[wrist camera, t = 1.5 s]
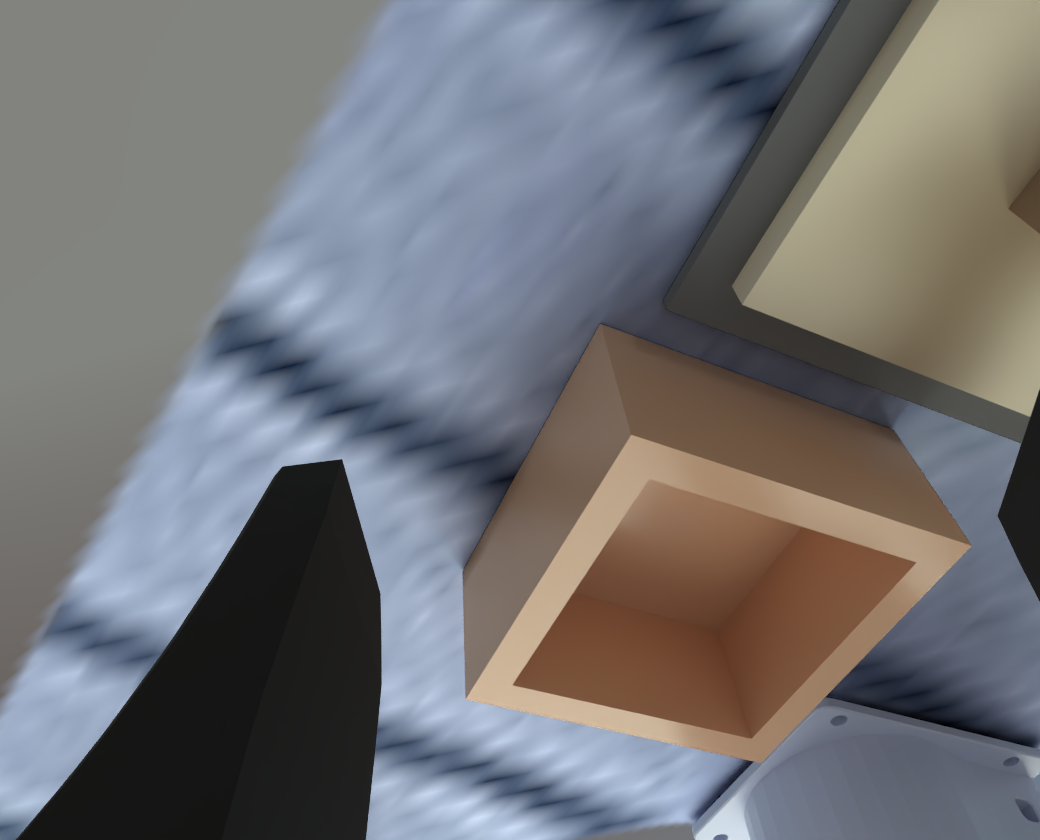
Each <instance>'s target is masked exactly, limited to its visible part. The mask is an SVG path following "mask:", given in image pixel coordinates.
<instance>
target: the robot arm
mask: <svg viewBox="0 0 1040 840" xmlns="http://www.w3.org/2000/svg"><path fill="white" fill-rule="evenodd" d="M998 517H999V519H1000V522H1001V524H1002V526H1003V528H1004V530H1005V532H1006V534H1007V537H1008V539H1009V541H1010V543H1011V545H1012V547H1013V549H1014V552H1015V554H1016V556H1017V558H1018V560H1019V562H1020V564H1021V566H1022V568H1023V570H1024V572H1025V574H1026V576H1027V578H1028V580H1029V582H1030V583H1031V585H1032V587H1033V589H1034V591H1035V593H1036V595H1037V597H1038V599H1039V601H1040V389H1039V392H1038V395H1037V398H1036V401H1035V404H1034V407H1033V411H1032V414H1031V417H1030V420H1029V423H1028V426H1027V429H1026V432H1025V435H1024V438H1023V441H1022V444H1021V447H1020V450H1019V453H1018V456H1017V459H1016V462H1015V465H1014V468H1013V471H1012V474H1011V477H1010V480H1009V483H1008V486H1007V489H1006V492H1005V495H1004V498H1003V501H1002V504H1001V508H1000V511H999V514H998ZM381 684H382V681H381V603H380V591H379V588H378V584H377V580H376V577H375V573H374V570H373V566H372V563H371V559H370V556H369V552H368V549H367V545H366V542H365V538H364V535H363V531H362V528H361V524H360V521H359V517H358V514H357V510H356V507H355V503H354V500H353V496H352V493H351V489H350V486H349V482H348V479H347V475H346V472H345V468H344V465H343V461H342V459H341V460H333V461H325V462H317V463H309V464H301V465H293V466H285V467H282V468H281V469H280V470H279V472H278V473H277V474H276V475H275V476H274V478H273V479H272V481H271V483H270V484H269V486H268V488H267V490H266V491H265V493H264V495H263V496H262V498H261V500H260V501H259V503H258V505H257V506H256V508H255V510H254V511H253V513H252V515H251V516H250V518H249V520H248V521H247V523H246V525H245V526H244V528H243V530H242V531H241V533H240V535H239V536H238V538H237V540H236V541H235V543H234V544H233V546H232V548H231V549H230V551H229V553H228V554H227V556H226V557H225V559H224V561H223V562H222V564H221V565H220V567H219V569H218V570H217V572H216V573H215V575H214V577H213V578H212V580H211V581H210V583H209V584H208V586H207V587H206V589H205V590H204V592H203V593H202V595H201V596H200V598H199V599H198V601H197V602H196V604H195V605H194V607H193V608H192V610H191V611H190V613H189V614H188V616H187V617H186V619H185V620H184V622H183V623H182V625H181V627H180V628H179V630H178V631H177V633H176V634H175V636H174V637H173V639H172V640H171V641H170V643H169V644H168V646H167V647H166V649H165V650H164V652H163V653H162V654H161V656H160V657H159V659H158V660H157V661H156V663H155V664H154V665H153V667H152V668H151V669H150V671H149V672H148V674H147V675H146V676H145V678H144V679H143V680H142V682H141V683H140V684H139V686H138V687H137V689H136V690H135V691H134V693H133V694H132V695H131V697H130V698H129V699H128V701H127V702H126V704H125V705H124V706H123V708H122V709H121V710H120V712H119V713H118V715H117V716H116V717H115V719H114V720H113V721H112V723H111V724H110V725H109V727H108V728H107V729H106V731H105V732H104V733H103V735H102V736H101V737H100V738H99V740H98V741H97V742H96V744H95V745H94V746H93V747H92V749H91V750H90V751H89V752H88V754H87V755H86V756H85V757H84V759H83V760H82V761H81V762H80V764H79V765H78V766H77V768H76V769H75V770H74V771H73V772H72V774H71V775H70V776H69V777H68V779H67V780H66V781H65V782H64V783H63V785H62V786H61V787H60V788H59V790H58V791H57V792H56V793H55V794H54V796H53V797H52V798H51V799H50V800H49V801H48V803H47V804H46V805H45V806H44V807H43V809H42V810H41V811H40V812H39V813H38V814H37V816H36V817H35V818H34V819H33V820H32V821H31V823H30V824H29V825H28V826H27V827H26V829H25V830H24V831H23V832H22V833H21V834H20V836H19V837H18V838H17V839H16V840H366V832H367V822H368V813H369V803H370V794H371V784H372V775H373V765H374V755H375V746H376V736H377V726H378V716H379V705H380V695H381ZM1039 773H1040V750H1039V749H1035V748H1031V747H1027V746H1023V745H1019V744H1015V743H1011V742H1007V741H1003V740H999V739H995V738H991V737H987V736H983V735H979V734H975V733H971V732H966V731H962V730H958V729H954V728H950V727H946V726H942V725H938V724H934V723H930V722H926V721H922V720H918V719H914V718H910V717H906V716H902V715H898V714H894V713H890V712H886V711H882V710H878V709H874V708H870V707H865V706H861V705H857V704H853V703H849V702H845V701H841V700H837V699H833V698H828V697H825V698H824V699H823V700H822V701H821V702H820V703H819V704H818V705H817V706H816V707H815V708H814V709H813V710H812V711H811V712H810V713H809V714H808V715H807V716H806V717H805V719H804V720H803V721H802V722H801V723H800V724H799V725H798V726H797V727H796V728H795V729H794V730H793V731H792V732H791V733H790V734H789V735H788V736H787V737H786V738H785V739H784V740H783V741H782V742H781V743H780V744H779V745H778V746H777V747H776V748H775V749H774V750H773V752H772V753H771V754H770V755H769V756H768V757H767V758H766V759H765V760H764V761H763V762H762V763H758V762H753V763H752V764H751V765H750V766H749V767H748V768H747V769H746V770H745V771H744V772H743V773H742V774H741V775H740V776H739V777H738V778H737V780H736V781H735V782H734V783H733V784H732V785H731V786H730V787H729V788H728V789H727V790H726V791H725V792H724V793H723V794H722V795H721V796H720V797H719V798H718V799H717V800H716V801H715V802H714V803H713V805H712V806H711V807H710V808H709V809H708V810H707V811H706V812H705V813H704V814H703V815H702V816H701V817H700V818H699V819H698V820H697V821H696V822H695V823H694V825H693V826H692V831H693V835H694V839H695V840H1040V792H1039V790H1038V789H1037V787H1036V785H1035V784H1034V782H1033V780H1032V779H1033V778H1034V777H1036V776H1037V775H1038V774H1039Z"/></svg>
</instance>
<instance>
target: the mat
mask: <svg viewBox="0 0 1040 840" xmlns="http://www.w3.org/2000/svg"><path fill="white" fill-rule="evenodd" d="M911 1H912V0H840V1H839V3H838V4H837V6H836V8H835V9H834V11H833V13H832V14H831V16H830V18H829V20H828V21H827V23H826V25H825V26H824V28H823V30H822V31H821V33H820V35H819V36H818V38H817V40H816V42H815V43H814V45H813V47H812V48H811V50H810V52H809V53H808V55H807V57H806V59H805V60H804V62H803V64H802V65H801V67H800V69H799V70H798V72H797V74H796V75H795V77H794V79H793V81H792V82H791V84H790V86H789V87H788V89H787V91H786V92H785V94H784V96H783V98H782V99H781V101H780V103H779V104H778V106H777V108H776V109H775V111H774V113H773V114H772V116H771V118H770V120H769V121H768V123H767V125H766V126H765V128H764V130H763V131H762V133H761V135H760V137H759V138H758V140H757V142H756V143H755V145H754V147H753V148H752V150H751V152H750V154H749V155H748V157H747V159H746V160H745V162H744V164H743V165H742V167H741V169H740V170H739V172H738V174H737V176H736V177H735V179H734V181H733V182H732V184H731V186H730V187H729V189H728V191H727V193H726V194H725V196H724V198H723V199H722V201H721V203H720V204H719V206H718V208H717V209H716V211H715V213H714V215H713V216H712V218H711V220H710V221H709V223H708V225H707V226H706V228H705V230H704V232H703V233H702V235H701V237H700V238H699V240H698V242H697V243H696V245H695V247H694V248H693V250H692V252H691V254H690V255H689V257H688V259H687V260H686V262H685V264H684V265H683V267H682V269H681V271H680V272H679V274H678V276H677V277H676V279H675V281H674V282H673V284H672V286H671V287H670V289H669V291H668V293H667V294H666V296H665V298H664V299H663V302H664V305H665V307H666V310H668V311H671V312H674V313H676V314H679V315H682V316H684V317H687V318H690V319H692V320H695V321H698V322H700V323H703V324H706V325H708V326H711V327H714V328H716V329H719V330H721V331H724V332H727V333H729V334H732V335H735V336H737V337H740V338H743V339H745V340H748V341H751V342H753V343H756V344H759V345H761V346H764V347H767V348H769V349H772V350H775V351H777V352H780V353H783V354H785V355H788V356H791V357H793V358H796V359H798V360H801V361H804V362H806V363H809V364H812V365H814V366H817V367H820V368H822V369H825V370H828V371H830V372H833V373H836V374H838V375H841V376H844V377H846V378H849V379H852V380H854V381H857V382H860V383H862V384H865V385H868V386H870V387H873V388H876V389H878V390H881V391H883V392H886V393H889V394H891V395H894V396H897V397H899V398H902V399H905V400H907V401H910V402H913V403H915V404H918V405H921V406H923V407H926V408H929V409H931V410H934V411H937V412H939V413H942V414H945V415H947V416H950V417H953V418H955V419H958V420H961V421H963V422H966V423H968V424H971V425H974V426H976V427H979V428H982V429H984V430H987V431H990V432H992V433H995V434H998V435H1000V436H1003V437H1006V438H1008V439H1011V440H1014V441H1016V442H1019V443H1022V441H1023V438H1024V435H1025V432H1026V429H1027V426H1028V423H1029V420H1030V417H1029V416H1027V415H1024V414H1022V413H1019V412H1016V411H1014V410H1011V409H1009V408H1006V407H1004V406H1001V405H998V404H996V403H993V402H991V401H988V400H986V399H983V398H980V397H978V396H975V395H973V394H970V393H968V392H965V391H962V390H960V389H957V388H955V387H952V386H950V385H947V384H944V383H942V382H939V381H937V380H934V379H932V378H929V377H926V376H924V375H921V374H919V373H916V372H914V371H911V370H909V369H906V368H903V367H901V366H898V365H896V364H893V363H891V362H888V361H885V360H883V359H880V358H878V357H875V356H873V355H870V354H867V353H865V352H862V351H860V350H857V349H855V348H852V347H849V346H847V345H844V344H842V343H839V342H837V341H834V340H831V339H829V338H826V337H824V336H821V335H819V334H816V333H813V332H811V331H808V330H806V329H803V328H801V327H798V326H796V325H793V324H790V323H788V322H785V321H783V320H780V319H778V318H775V317H772V316H770V315H767V314H765V313H762V312H760V311H757V310H754V309H752V308H749V307H747V306H744V305H742V304H741V302H740V300H739V298H738V296H737V295H736V293H735V291H734V289H733V287H732V285H733V283H734V282H735V280H736V279H737V277H738V275H739V274H740V272H741V271H742V269H743V267H744V266H745V264H746V263H747V261H748V259H749V258H750V256H751V255H752V253H753V252H754V250H755V248H756V247H757V245H758V244H759V242H760V240H761V239H762V237H763V236H764V234H765V233H766V231H767V229H768V228H769V226H770V225H771V223H772V221H773V220H774V218H775V217H776V215H777V214H778V212H779V210H780V209H781V207H782V206H783V204H784V202H785V201H786V199H787V198H788V196H789V195H790V193H791V191H792V190H793V188H794V187H795V185H796V183H797V182H798V180H799V179H800V177H801V176H802V174H803V172H804V171H805V169H806V168H807V166H808V164H809V163H810V161H811V160H812V158H813V157H814V155H815V153H816V152H817V150H818V149H819V147H820V145H821V144H822V142H823V141H824V139H825V138H826V136H827V134H828V133H829V131H830V130H831V128H832V126H833V125H834V123H835V122H836V120H837V119H838V117H839V115H840V114H841V112H842V111H843V109H844V107H845V106H846V104H847V103H848V101H849V100H850V98H851V96H852V95H853V93H854V92H855V90H856V88H857V87H858V85H859V84H860V82H861V80H862V79H863V77H864V76H865V74H866V73H867V71H868V69H869V68H870V66H871V65H872V63H873V61H874V60H875V58H876V57H877V55H878V54H879V52H880V50H881V49H882V47H883V46H884V44H885V42H886V41H887V39H888V38H889V36H890V35H891V33H892V31H893V30H894V28H895V27H896V25H897V23H898V22H899V20H900V19H901V17H902V16H903V14H904V12H905V11H906V9H907V8H908V6H909V4H910V3H911Z"/></svg>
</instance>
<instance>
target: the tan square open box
mask: <svg viewBox="0 0 1040 840" xmlns="http://www.w3.org/2000/svg"><path fill="white" fill-rule="evenodd" d="M971 546H972V545H971V544H970V542H969V541H968V539H967V538H966V536H965V535H964V533H963V532H962V530H961V529H960V527H959V526H958V524H957V523H956V521H955V520H954V518H953V517H952V516H951V514H950V513H949V511H948V510H947V508H946V507H945V505H944V504H943V502H942V501H941V499H940V498H939V496H938V495H937V493H936V492H935V490H934V489H933V487H932V486H931V484H930V483H929V482H928V480H927V479H926V477H925V476H924V474H923V473H922V471H921V470H920V468H919V467H918V465H917V464H916V462H915V461H914V459H913V458H912V456H911V455H910V453H909V452H908V450H907V449H906V448H905V446H904V445H903V443H902V442H901V440H900V439H899V437H898V436H897V434H896V433H895V431H894V430H892V429H890V428H887V427H884V426H881V425H879V424H876V423H873V422H870V421H868V420H865V419H862V418H859V417H856V416H854V415H851V414H848V413H845V412H843V411H840V410H837V409H834V408H832V407H829V406H826V405H823V404H821V403H818V402H815V401H812V400H810V399H807V398H804V397H801V396H799V395H796V394H793V393H790V392H788V391H785V390H782V389H779V388H776V387H774V386H771V385H768V384H765V383H763V382H760V381H757V380H754V379H752V378H749V377H746V376H743V375H741V374H738V373H735V372H732V371H730V370H727V369H724V368H721V367H719V366H716V365H713V364H710V363H708V362H705V361H702V360H699V359H696V358H694V357H691V356H688V355H685V354H683V353H680V352H677V351H674V350H672V349H669V348H666V347H663V346H661V345H658V344H655V343H652V342H650V341H647V340H644V339H641V338H639V337H636V336H633V335H630V334H628V333H625V332H622V331H619V330H616V329H614V328H611V327H608V326H605V325H603V324H600V325H599V326H598V328H597V330H596V332H595V334H594V335H593V337H592V339H591V341H590V343H589V344H588V346H587V348H586V350H585V352H584V353H583V355H582V357H581V359H580V361H579V363H578V364H577V366H576V368H575V370H574V372H573V373H572V375H571V377H570V379H569V381H568V382H567V384H566V386H565V388H564V390H563V391H562V393H561V395H560V397H559V399H558V400H557V402H556V404H555V406H554V408H553V409H552V411H551V413H550V415H549V417H548V418H547V420H546V422H545V424H544V426H543V427H542V429H541V431H540V433H539V435H538V436H537V438H536V440H535V442H534V444H533V445H532V447H531V449H530V451H529V453H528V454H527V456H526V458H525V460H524V462H523V463H522V465H521V467H520V469H519V471H518V472H517V474H516V476H515V478H514V480H513V481H512V483H511V485H510V487H509V489H508V490H507V492H506V494H505V496H504V498H503V499H502V501H501V503H500V505H499V507H498V508H497V510H496V512H495V514H494V516H493V517H492V519H491V521H490V523H489V525H488V526H487V528H486V530H485V532H484V534H483V535H482V537H481V539H480V541H479V543H478V544H477V546H476V548H475V550H474V552H473V553H472V555H471V557H470V559H469V561H468V563H467V564H466V566H465V568H464V570H463V609H464V651H465V693H466V700H471V701H476V702H480V703H485V704H490V705H494V706H499V707H503V708H508V709H513V710H517V711H522V712H527V713H531V714H536V715H541V716H545V717H550V718H554V719H559V720H564V721H568V722H573V723H578V724H582V725H587V726H592V727H596V728H601V729H605V730H610V731H615V732H619V733H624V734H629V735H633V736H638V737H642V738H647V739H652V740H656V741H661V742H666V743H670V744H675V745H680V746H684V747H689V748H693V749H698V750H703V751H707V752H712V753H717V754H721V755H726V756H731V757H735V758H740V759H744V760H749V761H754V762H758V763H762V762H763V761H764V760H765V759H766V758H767V757H768V756H769V755H770V754H771V753H772V752H773V750H774V749H775V748H776V747H777V746H778V745H779V744H780V743H781V742H782V741H783V740H784V739H785V738H786V737H787V736H788V735H789V734H790V733H791V732H792V731H793V730H794V729H795V728H796V727H797V726H798V725H799V724H800V723H801V722H802V721H803V720H804V719H805V717H806V716H807V715H808V714H809V713H810V712H811V711H812V710H813V709H814V708H815V707H816V706H817V705H818V704H819V703H820V702H821V701H822V700H823V699H824V698H825V697H826V696H827V695H828V694H829V693H830V692H831V691H832V690H833V689H834V688H835V687H836V686H837V685H838V683H839V682H840V681H841V680H842V679H843V678H844V677H845V676H846V675H847V674H848V673H849V672H850V671H851V670H852V669H853V668H854V667H855V666H856V665H857V664H858V663H859V662H860V661H861V660H862V659H863V658H864V657H865V656H866V655H867V654H868V653H869V652H870V651H871V649H872V648H873V647H874V646H875V645H876V644H877V643H878V642H879V641H880V640H881V639H882V638H883V637H884V636H885V635H886V634H887V633H888V632H889V631H890V630H891V629H892V628H893V627H894V626H895V625H896V624H897V623H898V622H899V621H900V620H901V619H902V618H903V616H904V615H905V614H906V613H907V612H908V611H909V610H910V609H911V608H912V607H913V606H914V605H915V604H916V603H917V602H918V601H919V600H920V599H921V598H922V597H923V596H924V595H925V594H926V593H927V592H928V591H929V590H930V589H931V588H932V587H933V586H934V585H935V584H936V582H937V581H938V580H939V579H940V578H941V577H942V576H943V575H944V574H945V573H946V572H947V571H948V570H949V569H950V568H951V567H952V566H953V565H954V564H955V563H956V562H957V561H958V560H959V559H960V558H961V557H962V556H963V555H964V554H965V553H966V552H967V551H968V549H969V548H970V547H971Z"/></svg>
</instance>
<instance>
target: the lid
mask: <svg viewBox="0 0 1040 840" xmlns="http://www.w3.org/2000/svg"><path fill="white" fill-rule="evenodd" d="M732 287H733V289H734V291H735V293H736V295H737V296H738V298H739V300H740V302H741V304H742V305H744V306H747V307H749V308H752V309H754V310H757V311H760V312H762V313H765V314H767V315H770V316H772V317H775V318H778V319H780V320H783V321H785V322H788V323H790V324H793V325H796V326H798V327H801V328H803V329H806V330H808V331H811V332H813V333H816V334H819V335H821V336H824V337H826V338H829V339H831V340H834V341H837V342H839V343H842V344H844V345H847V346H849V347H852V348H855V349H857V350H860V351H862V352H865V353H867V354H870V355H873V356H875V357H878V358H880V359H883V360H885V361H888V362H891V363H893V364H896V365H898V366H901V367H903V368H906V369H909V370H911V371H914V372H916V373H919V374H921V375H924V376H926V377H929V378H932V379H934V380H937V381H939V382H942V383H944V384H947V385H950V386H952V387H955V388H957V389H960V390H962V391H965V392H968V393H970V394H973V395H975V396H978V397H980V398H983V399H986V400H988V401H991V402H993V403H996V404H998V405H1001V406H1004V407H1006V408H1009V409H1011V410H1014V411H1016V412H1019V413H1022V414H1024V415H1027V416H1029V417H1031V414H1032V411H1033V407H1034V404H1035V401H1036V398H1037V395H1038V392H1039V389H1040V0H912V1H911V3H910V4H909V6H908V8H907V9H906V11H905V12H904V14H903V16H902V17H901V19H900V20H899V22H898V23H897V25H896V27H895V28H894V30H893V31H892V33H891V35H890V36H889V38H888V39H887V41H886V42H885V44H884V46H883V47H882V49H881V50H880V52H879V54H878V55H877V57H876V58H875V60H874V61H873V63H872V65H871V66H870V68H869V69H868V71H867V73H866V74H865V76H864V77H863V79H862V80H861V82H860V84H859V85H858V87H857V88H856V90H855V92H854V93H853V95H852V96H851V98H850V100H849V101H848V103H847V104H846V106H845V107H844V109H843V111H842V112H841V114H840V115H839V117H838V119H837V120H836V122H835V123H834V125H833V126H832V128H831V130H830V131H829V133H828V134H827V136H826V138H825V139H824V141H823V142H822V144H821V145H820V147H819V149H818V150H817V152H816V153H815V155H814V157H813V158H812V160H811V161H810V163H809V164H808V166H807V168H806V169H805V171H804V172H803V174H802V176H801V177H800V179H799V180H798V182H797V183H796V185H795V187H794V188H793V190H792V191H791V193H790V195H789V196H788V198H787V199H786V201H785V202H784V204H783V206H782V207H781V209H780V210H779V212H778V214H777V215H776V217H775V218H774V220H773V221H772V223H771V225H770V226H769V228H768V229H767V231H766V233H765V234H764V236H763V237H762V239H761V240H760V242H759V244H758V245H757V247H756V248H755V250H754V252H753V253H752V255H751V256H750V258H749V259H748V261H747V263H746V264H745V266H744V267H743V269H742V271H741V272H740V274H739V275H738V277H737V279H736V280H735V282H734V283H733V285H732Z"/></svg>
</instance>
